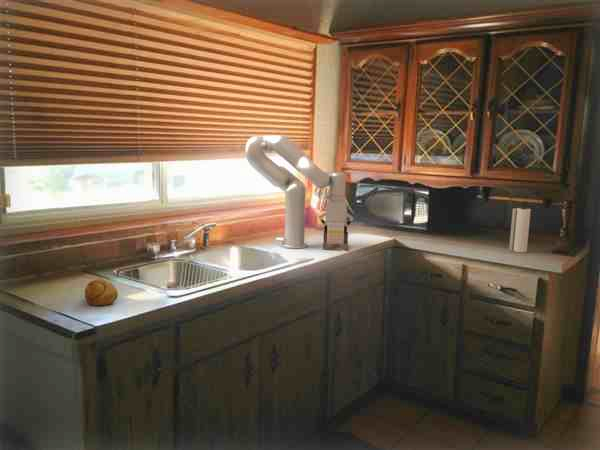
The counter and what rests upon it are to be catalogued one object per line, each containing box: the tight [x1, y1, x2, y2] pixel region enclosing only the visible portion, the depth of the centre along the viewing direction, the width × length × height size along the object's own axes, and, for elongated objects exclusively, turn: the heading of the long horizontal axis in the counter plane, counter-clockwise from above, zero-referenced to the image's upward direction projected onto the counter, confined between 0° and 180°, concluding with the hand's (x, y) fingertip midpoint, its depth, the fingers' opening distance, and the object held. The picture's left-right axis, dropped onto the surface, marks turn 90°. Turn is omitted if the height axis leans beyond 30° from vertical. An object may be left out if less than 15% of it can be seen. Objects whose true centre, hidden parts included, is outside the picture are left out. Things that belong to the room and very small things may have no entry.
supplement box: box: [327, 221, 345, 244], centre depth 262 cm, size 8×5×13 cm, turn 86°
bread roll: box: [84, 278, 119, 307], centre depth 172 cm, size 13×10×8 cm
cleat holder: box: [322, 231, 349, 252], centre depth 262 cm, size 12×12×7 cm
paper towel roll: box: [508, 207, 531, 254], centre depth 263 cm, size 7×6×21 cm
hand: (335, 233), depth 262 cm, fingers closed on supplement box, 8 cm apart
